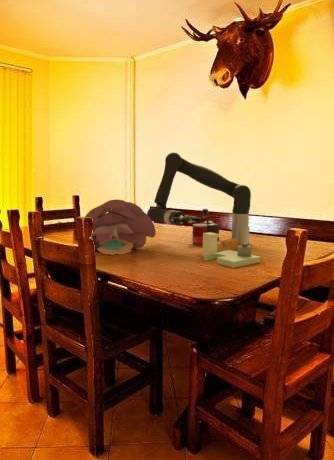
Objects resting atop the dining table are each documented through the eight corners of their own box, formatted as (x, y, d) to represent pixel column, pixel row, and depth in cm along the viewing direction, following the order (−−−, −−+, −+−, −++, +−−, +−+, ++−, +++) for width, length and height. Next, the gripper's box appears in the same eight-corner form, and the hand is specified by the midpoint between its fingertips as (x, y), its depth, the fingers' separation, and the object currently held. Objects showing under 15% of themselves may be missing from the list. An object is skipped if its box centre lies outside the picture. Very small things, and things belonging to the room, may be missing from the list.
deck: (229, 255, 172) (230, 239, 171) (259, 262, 158) (260, 245, 157) (203, 259, 162) (204, 243, 161) (233, 267, 148) (234, 249, 147)
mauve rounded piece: (90, 267, 166) (87, 209, 156) (75, 249, 185) (71, 196, 175) (156, 253, 183) (157, 200, 172) (136, 237, 202) (136, 189, 191)
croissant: (211, 259, 177) (215, 247, 173) (204, 247, 185) (207, 235, 181) (249, 256, 184) (253, 244, 179) (240, 244, 192) (244, 232, 187)
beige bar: (209, 254, 173) (210, 232, 171) (218, 256, 168) (219, 233, 167) (202, 255, 170) (203, 233, 169) (211, 258, 166) (212, 234, 164)
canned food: (205, 245, 197) (206, 225, 196) (191, 244, 199) (191, 225, 197) (207, 243, 205) (207, 224, 203) (193, 242, 206) (193, 223, 205)
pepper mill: (220, 239, 217) (221, 210, 214) (205, 241, 211) (206, 210, 209) (205, 236, 230) (206, 208, 228) (191, 237, 225) (191, 208, 222)
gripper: (163, 211, 184) (183, 214, 171) (184, 210, 193) (205, 212, 180) (163, 225, 185) (183, 229, 172) (184, 223, 194) (204, 227, 181)
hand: (194, 220), depth 176 cm, fingers open, 8 cm apart
